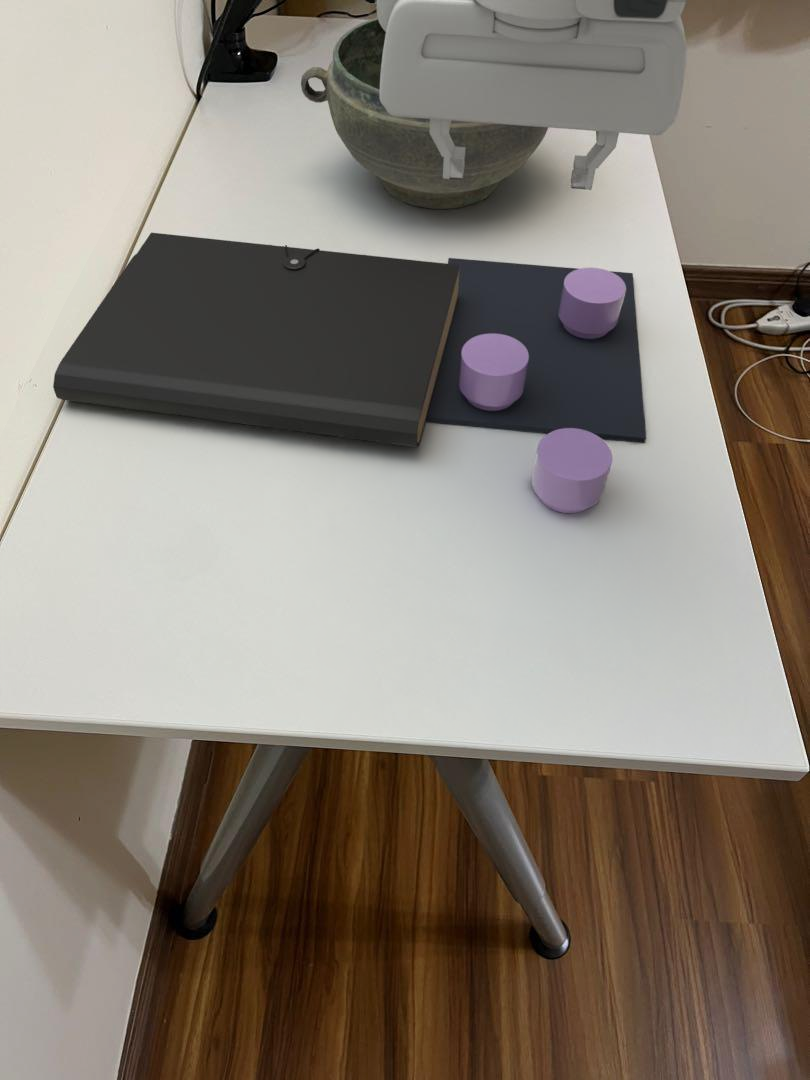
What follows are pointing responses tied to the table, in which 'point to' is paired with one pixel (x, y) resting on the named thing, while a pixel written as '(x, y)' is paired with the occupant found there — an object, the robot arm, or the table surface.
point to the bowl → (411, 131)
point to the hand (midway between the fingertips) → (516, 180)
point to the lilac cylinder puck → (493, 371)
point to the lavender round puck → (591, 302)
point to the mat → (543, 356)
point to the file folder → (268, 338)
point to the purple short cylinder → (571, 469)
